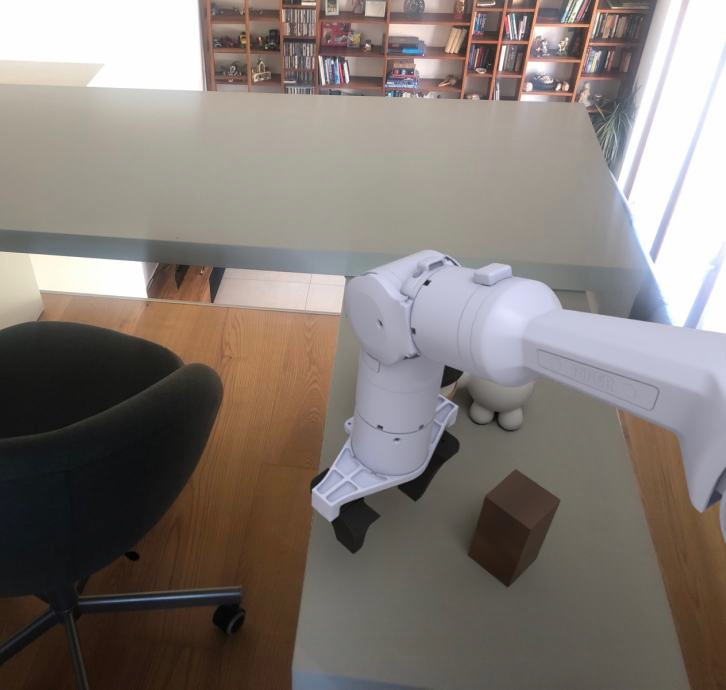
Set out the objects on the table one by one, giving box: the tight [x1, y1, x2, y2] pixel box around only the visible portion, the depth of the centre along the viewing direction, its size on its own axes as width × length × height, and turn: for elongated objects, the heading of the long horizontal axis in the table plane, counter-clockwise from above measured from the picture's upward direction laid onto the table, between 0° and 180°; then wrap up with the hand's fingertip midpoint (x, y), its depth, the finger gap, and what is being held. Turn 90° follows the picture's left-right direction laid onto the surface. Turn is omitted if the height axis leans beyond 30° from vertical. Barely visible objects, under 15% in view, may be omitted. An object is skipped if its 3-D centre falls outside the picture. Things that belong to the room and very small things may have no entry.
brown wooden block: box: [467, 468, 562, 588], centre depth 62 cm, size 4×4×9 cm
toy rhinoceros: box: [456, 372, 538, 431], centre depth 77 cm, size 7×12×8 cm, turn 68°
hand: (379, 517), depth 58 cm, fingers open, 7 cm apart
